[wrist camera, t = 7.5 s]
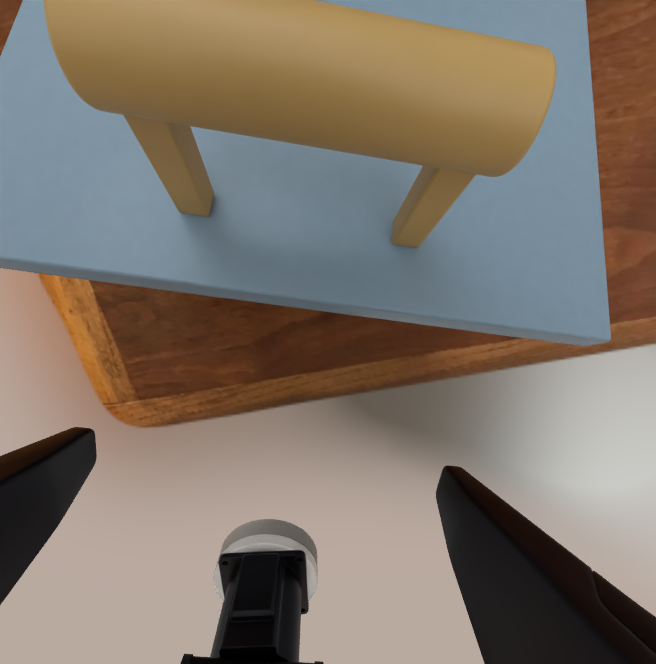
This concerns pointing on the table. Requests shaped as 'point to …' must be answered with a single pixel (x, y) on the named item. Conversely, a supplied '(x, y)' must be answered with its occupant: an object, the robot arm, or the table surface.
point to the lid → (313, 156)
